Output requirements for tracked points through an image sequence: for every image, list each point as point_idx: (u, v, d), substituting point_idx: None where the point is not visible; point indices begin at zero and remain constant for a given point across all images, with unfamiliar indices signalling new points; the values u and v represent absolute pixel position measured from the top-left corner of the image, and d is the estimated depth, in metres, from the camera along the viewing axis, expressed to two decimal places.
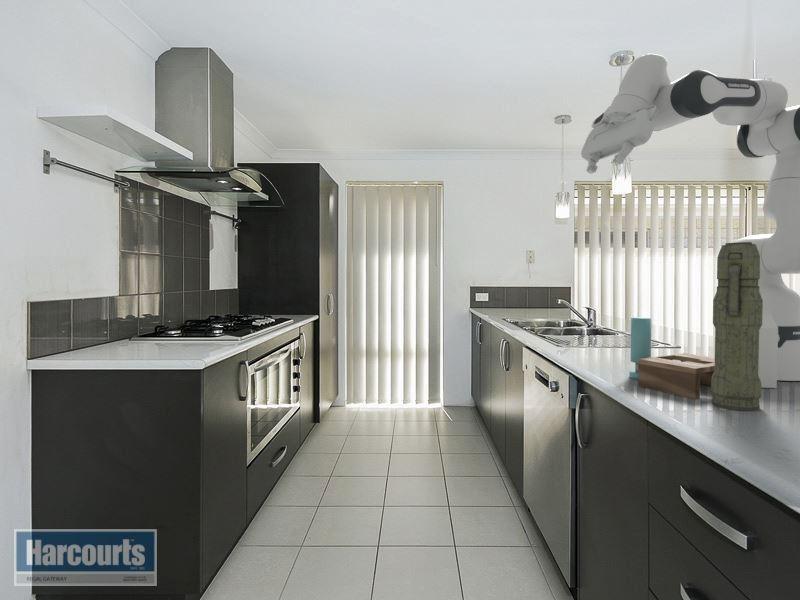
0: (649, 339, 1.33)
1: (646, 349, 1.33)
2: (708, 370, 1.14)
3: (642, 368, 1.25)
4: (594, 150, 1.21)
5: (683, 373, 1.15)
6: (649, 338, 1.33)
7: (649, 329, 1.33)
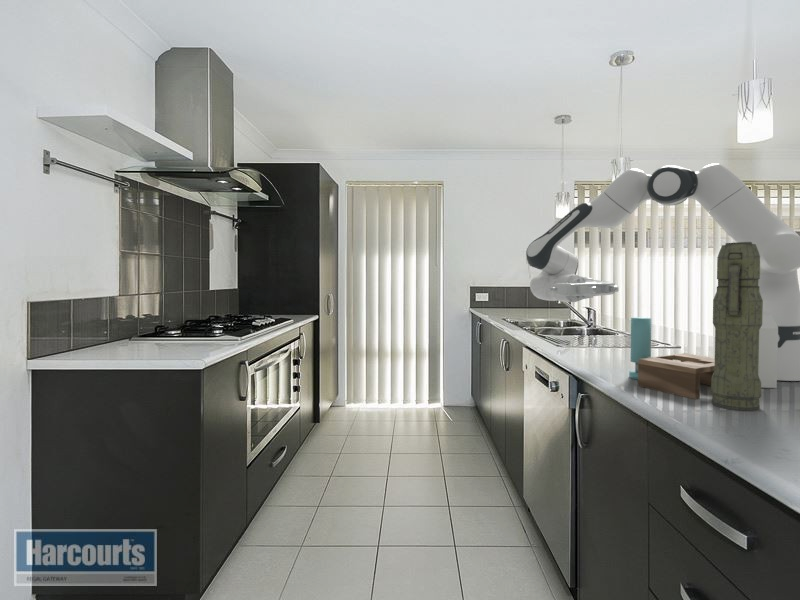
0: (649, 339, 1.33)
1: (646, 349, 1.33)
2: (708, 370, 1.14)
3: (642, 368, 1.25)
4: (602, 294, 1.52)
5: (683, 373, 1.15)
6: (649, 338, 1.33)
7: (649, 329, 1.33)
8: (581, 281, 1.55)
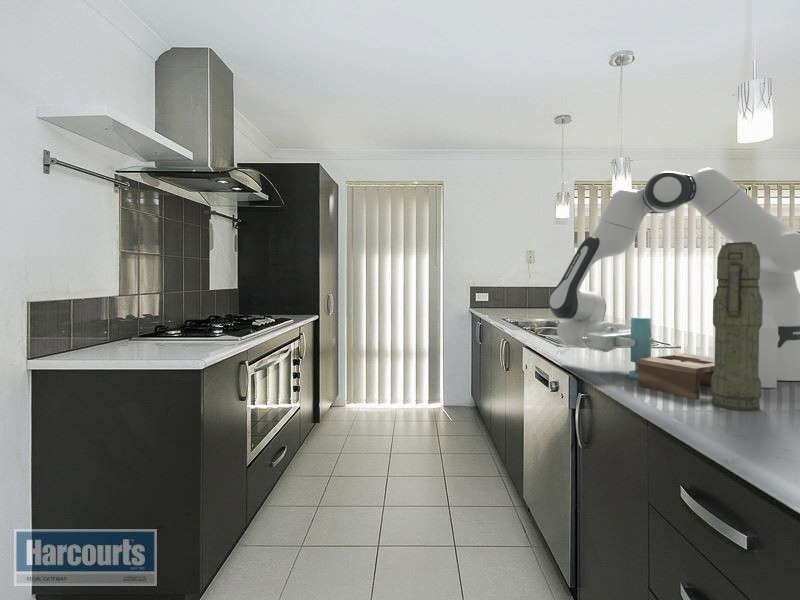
0: (649, 339, 1.33)
1: (646, 349, 1.33)
2: (708, 370, 1.14)
3: (642, 368, 1.25)
4: None
5: (683, 373, 1.15)
6: (649, 338, 1.33)
7: (649, 329, 1.33)
8: (615, 330, 1.45)
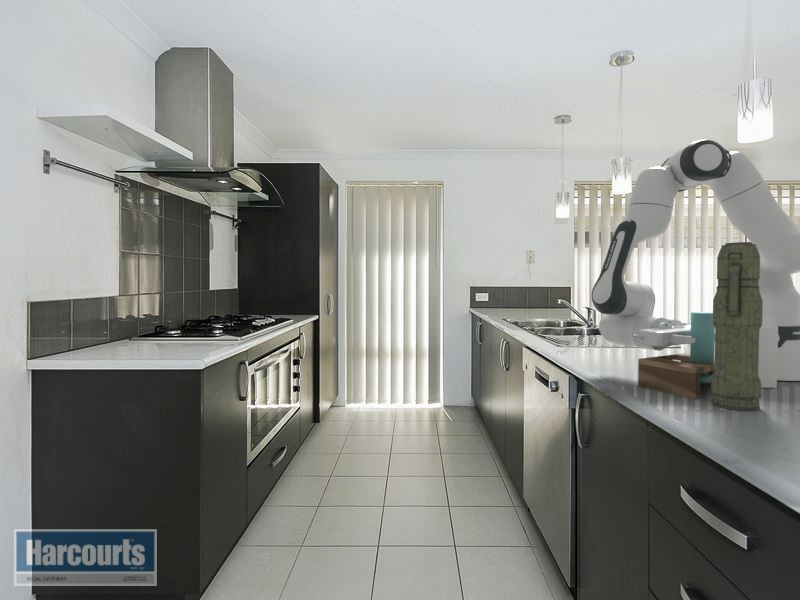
0: (713, 336, 1.18)
1: (710, 348, 1.18)
2: (708, 370, 1.14)
3: (642, 368, 1.25)
4: None
5: (683, 373, 1.15)
6: (713, 335, 1.18)
7: (713, 325, 1.18)
8: (669, 325, 1.29)
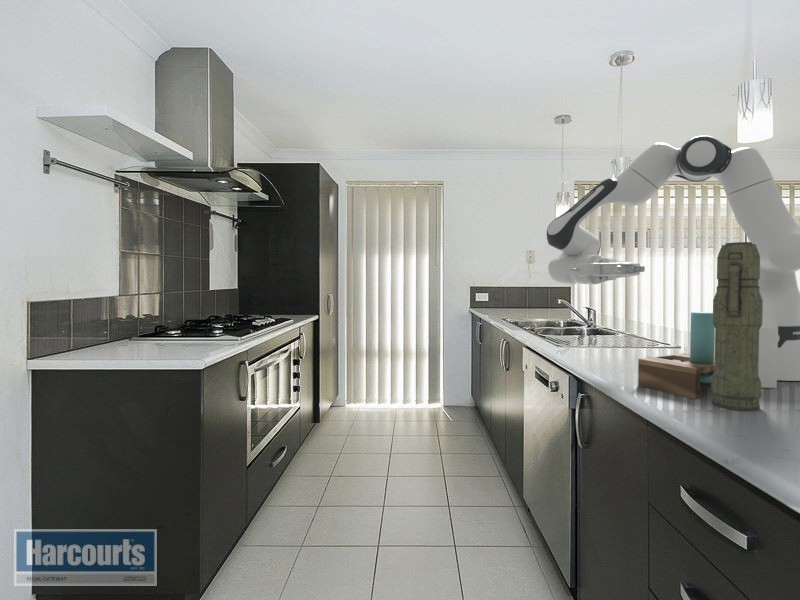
0: (713, 336, 1.18)
1: (710, 348, 1.18)
2: (708, 370, 1.14)
3: (642, 368, 1.25)
4: (627, 274, 1.44)
5: (683, 373, 1.15)
6: (713, 335, 1.18)
7: (713, 325, 1.18)
8: (604, 262, 1.47)
